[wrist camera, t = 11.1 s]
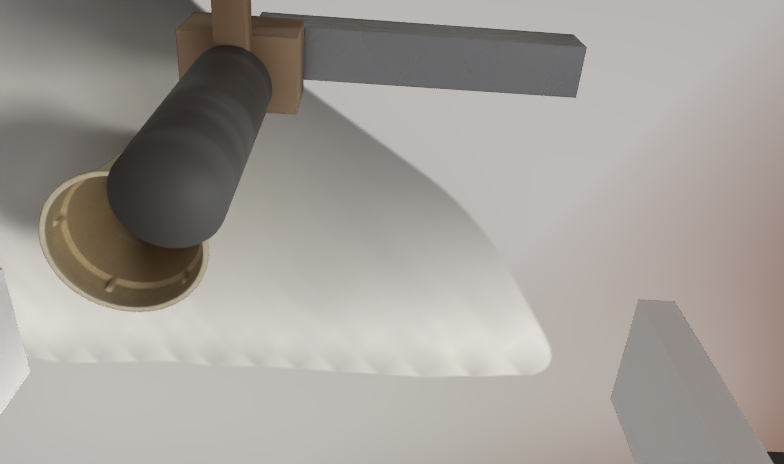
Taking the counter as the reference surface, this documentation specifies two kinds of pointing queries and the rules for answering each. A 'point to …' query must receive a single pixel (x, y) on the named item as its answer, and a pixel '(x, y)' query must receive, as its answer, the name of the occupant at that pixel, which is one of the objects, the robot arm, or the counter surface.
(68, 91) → the counter surface
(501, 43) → the rail
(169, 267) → the flower pot
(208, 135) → the pusher
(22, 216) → the counter surface
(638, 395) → the robot arm
